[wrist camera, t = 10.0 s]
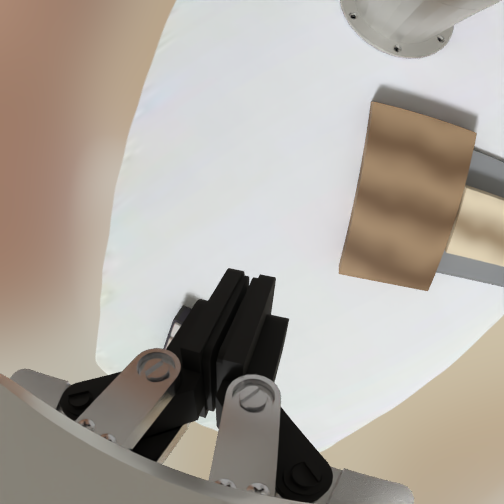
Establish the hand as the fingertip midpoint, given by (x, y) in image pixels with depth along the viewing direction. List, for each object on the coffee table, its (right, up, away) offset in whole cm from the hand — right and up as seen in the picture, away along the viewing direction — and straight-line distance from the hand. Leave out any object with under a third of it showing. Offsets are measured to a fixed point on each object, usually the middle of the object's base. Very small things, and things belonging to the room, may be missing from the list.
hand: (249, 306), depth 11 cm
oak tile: (+28, +5, +18) cm, 34 cm away
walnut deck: (+17, +8, +20) cm, 28 cm away
